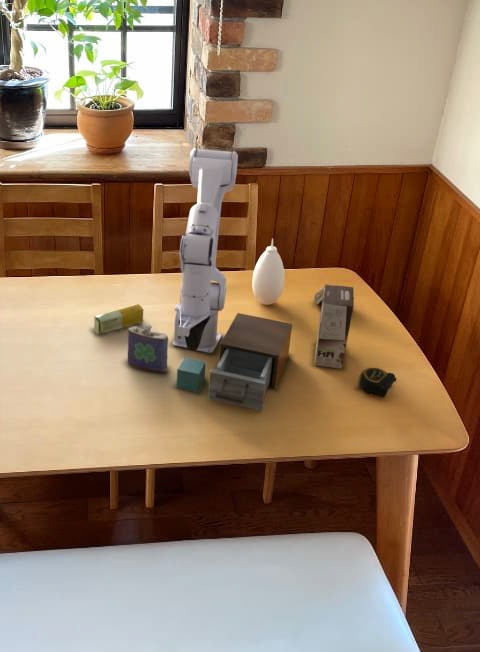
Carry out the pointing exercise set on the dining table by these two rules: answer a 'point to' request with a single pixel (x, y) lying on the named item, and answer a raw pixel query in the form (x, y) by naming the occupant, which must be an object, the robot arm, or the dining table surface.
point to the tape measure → (376, 381)
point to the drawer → (241, 379)
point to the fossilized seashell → (319, 297)
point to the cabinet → (260, 340)
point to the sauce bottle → (268, 276)
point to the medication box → (118, 319)
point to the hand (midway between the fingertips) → (192, 347)
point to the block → (191, 374)
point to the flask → (147, 349)
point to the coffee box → (334, 325)
